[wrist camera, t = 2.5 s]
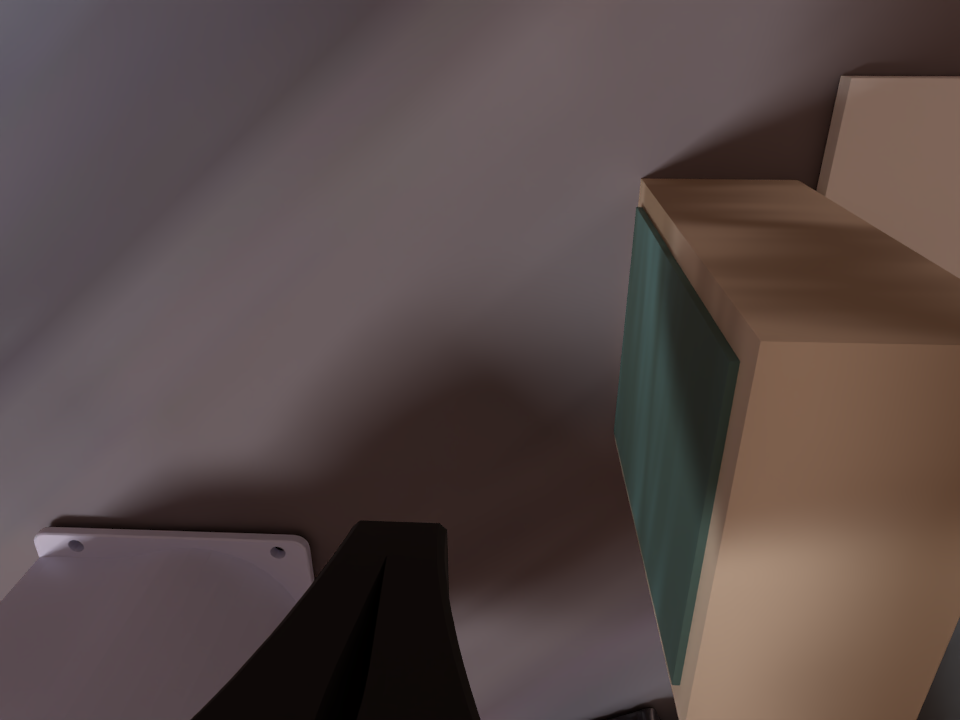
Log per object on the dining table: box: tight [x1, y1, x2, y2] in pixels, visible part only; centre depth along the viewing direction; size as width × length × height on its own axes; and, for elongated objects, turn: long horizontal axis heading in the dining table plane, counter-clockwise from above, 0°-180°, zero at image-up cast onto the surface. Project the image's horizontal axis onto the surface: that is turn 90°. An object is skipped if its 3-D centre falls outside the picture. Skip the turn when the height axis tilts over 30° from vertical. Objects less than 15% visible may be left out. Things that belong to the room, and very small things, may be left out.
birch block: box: [614, 178, 960, 720], centre depth 15 cm, size 4×8×10 cm, turn 0°
